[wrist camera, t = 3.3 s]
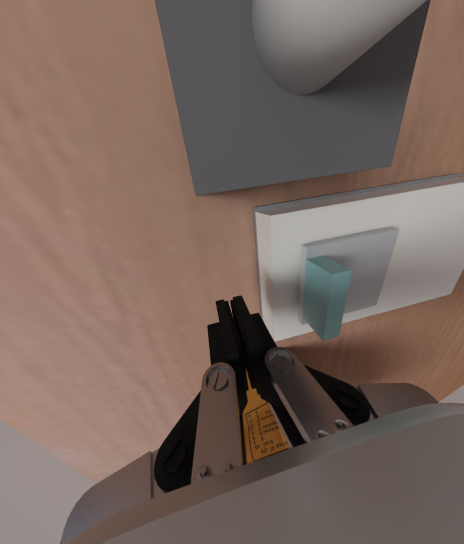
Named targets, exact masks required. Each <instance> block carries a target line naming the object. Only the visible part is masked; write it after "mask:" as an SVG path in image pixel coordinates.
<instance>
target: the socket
mask: <svg viewBox="0 0 464 544" xmlns="http://www.w3.org/2000/svg"><path fill="white" fill-rule="evenodd" d="M459 175H460V173H458V174H449V175H443V176H437V177H431V178H425V179H419V180H413V181H407V182H401V183H395V184H389V185H383V186H377V187H371V188H365V189H359V190H353V191H347V192H341V193H335V194H329V195H323V196H317V197H311V198H305V199H299V200H293V201H287V202H281V203H274V204H268V205H262V206H256V207H253V215H254V228H255V242H256V255H257V268H258V282H259V295H260V308H261V318H262V320H263V322H264V323H265V325H266V327H267V328H268V330H269V332H270V334H271V336H272V338H273V339H274V341H279V340H283V339H286V338H290V337H294V336H297V335H301V334H305V333H308V332H312V331H314V330H313V329H312V328H311V327H310V326H309V324H308V323H307V324H303V325H301V323H300V322H299V321H298V306H299V286H300V265H301V245H305V244H310V243H315V242H320V241H325V240H330V239H335V238H340V237H345V236H350V235H355V234H360V233H365V232H370V231H375V230H380V229H385V228H390V227H392V228H398V229H400V230H399V233H398V236H397V239H396V243H395V246H394V249H393V253H392V256H391V259H390V263H389V266H388V269H387V272H386V276H385V279H384V282H383V286H382V289H381V292H380V295H379V299H378V302H377V305H376V306H372V307H368V308H364V309H360V310H357V311H353V312H349V313H345V314H343V319H342V323H346V322H349V321H353V320H357V319H360V318H364V317H368V316H371V315H375V314H379V313H383V312H386V311H390V310H394V309H397V308H401V307H405V306H409V305H412V304H416V303H420V302H423V301H427V300H431V299H434V298H438V297H442V296H446V295H449V294H451V292H452V290H453V289H454V287H455V285H456V283H457V281H458V279H459V277H460V275H461V273H462V271H463V270H464V177H459Z"/></svg>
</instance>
